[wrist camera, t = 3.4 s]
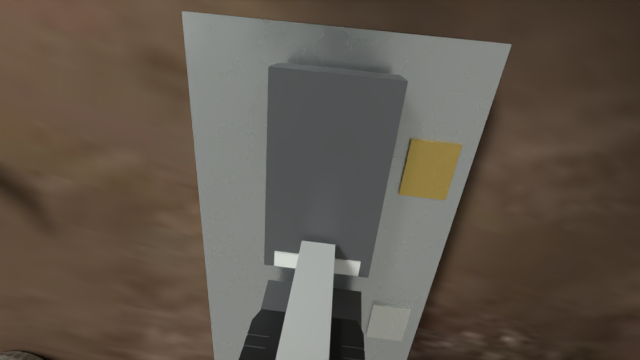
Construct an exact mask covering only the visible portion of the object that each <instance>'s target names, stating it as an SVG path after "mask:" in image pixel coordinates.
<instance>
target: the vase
mask: <svg viewBox="0 0 640 360" xmlns="http://www.w3.org/2000/svg"><path fill="white" fill-rule="evenodd" d="M0 360H44V359H42V358H40V357H38V356H36V355H33V354H30V353H26V352H21V351H9V352H4V353H0Z"/></svg>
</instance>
